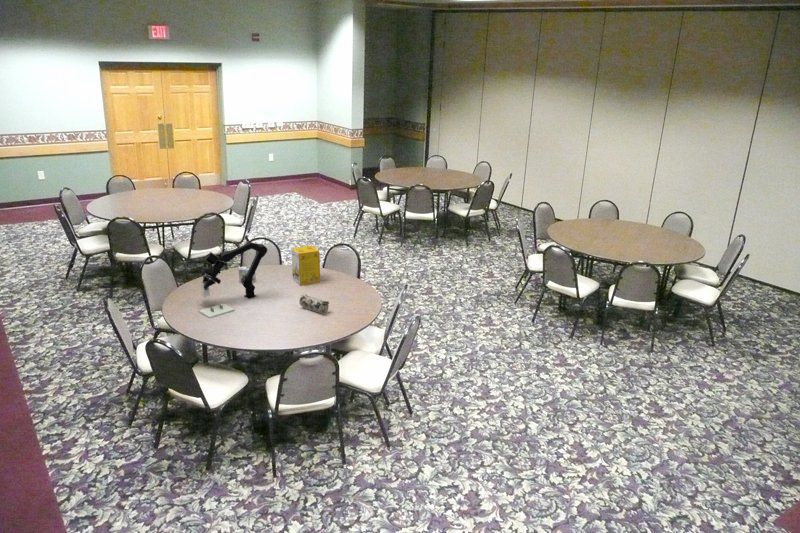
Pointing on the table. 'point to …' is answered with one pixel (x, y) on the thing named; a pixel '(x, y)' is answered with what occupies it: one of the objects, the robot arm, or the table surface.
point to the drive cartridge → (205, 291)
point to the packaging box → (305, 265)
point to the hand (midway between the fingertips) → (203, 287)
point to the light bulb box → (244, 271)
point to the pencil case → (314, 304)
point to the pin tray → (216, 310)
